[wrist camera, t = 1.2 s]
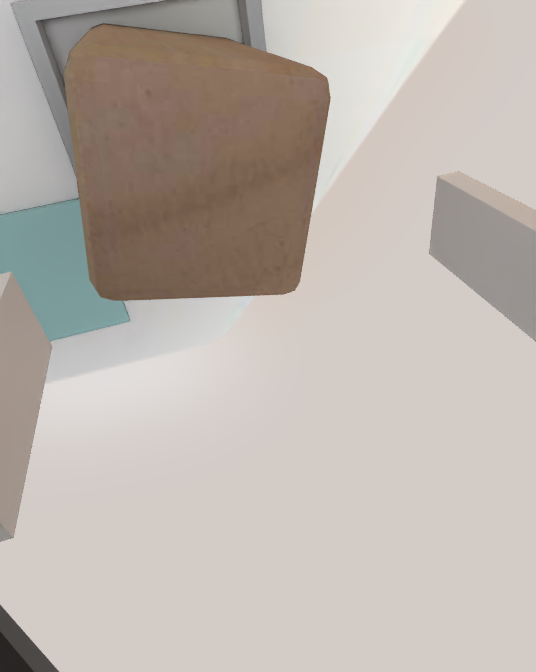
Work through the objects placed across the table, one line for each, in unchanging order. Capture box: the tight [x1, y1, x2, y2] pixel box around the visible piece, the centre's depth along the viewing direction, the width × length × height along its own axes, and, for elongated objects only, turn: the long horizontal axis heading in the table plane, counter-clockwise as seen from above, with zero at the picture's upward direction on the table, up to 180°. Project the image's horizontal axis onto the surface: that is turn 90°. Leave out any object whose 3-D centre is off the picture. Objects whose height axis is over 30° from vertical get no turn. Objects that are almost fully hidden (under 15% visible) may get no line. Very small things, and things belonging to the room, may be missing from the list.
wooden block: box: [63, 24, 330, 301], centre depth 26 cm, size 10×10×20 cm
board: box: [0, 198, 130, 341], centre depth 39 cm, size 12×12×1 cm
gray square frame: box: [10, 0, 266, 174], centre depth 33 cm, size 15×15×2 cm
